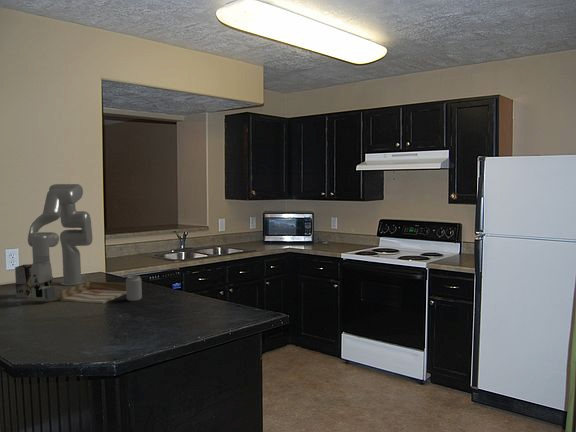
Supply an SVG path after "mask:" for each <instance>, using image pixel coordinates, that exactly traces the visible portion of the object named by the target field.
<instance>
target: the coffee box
mask: <svg viewBox="0 0 576 432" xmlns="http://www.w3.org/2000/svg"><path fill="white" fill-rule="evenodd" d="M31 267H32V264H30V263H28V264H22V265H18V266H16V267H14V268H15V269H14V271H15V274H14V275H15V297H16V298H17V299H19V298H20V299H22V298H23V299H24V298H25V299H28V298H30V297H31V298H32V290H31V288H33V286H32V285H31Z"/></svg>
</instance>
